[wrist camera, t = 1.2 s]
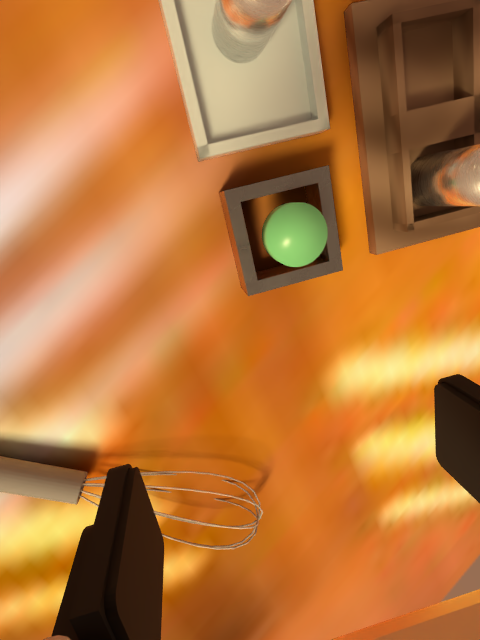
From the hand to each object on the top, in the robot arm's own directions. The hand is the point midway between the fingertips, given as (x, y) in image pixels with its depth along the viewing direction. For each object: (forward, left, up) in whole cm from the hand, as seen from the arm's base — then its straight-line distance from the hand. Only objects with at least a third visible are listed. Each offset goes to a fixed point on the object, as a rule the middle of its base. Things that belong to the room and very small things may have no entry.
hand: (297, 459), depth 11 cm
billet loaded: (-5, +19, -20) cm, 28 cm away
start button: (-4, +6, -20) cm, 21 cm away
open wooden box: (-4, +6, -21) cm, 23 cm away
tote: (-18, +6, -21) cm, 29 cm away
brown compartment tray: (-9, +19, -21) cm, 30 cm away
